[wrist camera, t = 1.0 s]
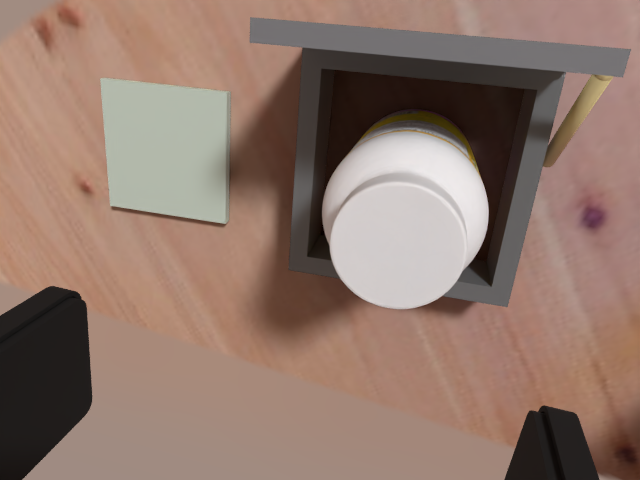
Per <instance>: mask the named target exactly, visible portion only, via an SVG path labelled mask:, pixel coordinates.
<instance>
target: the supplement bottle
mask: <svg viewBox="0 0 640 480" xmlns="http://www.w3.org/2000/svg"><path fill="white" fill-rule="evenodd" d="M488 217H489V208H488V200H487V195H486V191H485V187H484V184H483V182H482V179H481V176H480V173H479V170H478V167H477V164H476V161H475V158H474V155H473V152H472V149H471V147H470V144H469V142H468V140H467V139H466V137H465V135H464V134H463V132H462V131H461V130H460V129H459V128H458V127H457V126H456V125H455V124H454V123H453V122H452V121H450V120H449V119H447V118H446V117H444V116H442V115H440V114H437V113H435V112H432V111H428V110H422V109H407V110H401V111H397V112H394V113H392V114H389V115H387V116H385V117H383V118H382V119H380V120H379V121H377V122H376V123H375V124H374V125H372V126H371V127H370V128H369V129H368V130H367V131H366V133H365V134H364V135H363V136H362V137H361V139H360V140H359V141H358V142H357V144H356V145H355V146H354V147H353V149H352V150H351V151H350V152H349V153H348V154H347V156H346V157H345V158H344V159H343V160H342V161H341V163H340V164H339V165H338V167H337V168H336V170H335V171H334V173H333V174H332V176H331V178H330V180H329V182H328V185H327V187H326V191H325V194H324V199H323V205H322V220H323V227H324V232H325V235H326V238H327V241H328V243H329V246H330V255H331V259H332V262H333V265H334V268H335V270H336V272H337V274H338V275H339V277H340V279H341V280H342V281H343V282H344V284H345V285H346V286H347V287H348V288H349V289H350V290H351V291H352V292H353V293H355V294H356V295H357V296H359V297H360V298H362V299H363V300H365V301H367V302H369V303H372V304H374V305H377V306H381V307H386V308H392V309H410V308H416V307H420V306H423V305H426V304H429V303H431V302H433V301H435V300H437V299H438V298H440V297H441V296H443V295H444V294H445V293H446V292H448V291H449V290H450V289H451V288H452V286H453V285H454V284H455V283H456V281H457V280H458V278H459V277H460V275H461V273H462V271H463V270H464V269H465V268H466V267H467V266H468V265H469V264H470V263H471V261H472V260H473V259H474V257H475V256H476V254H477V253H478V251H479V249H480V247H481V245H482V243H483V241H484V238H485V235H486V231H487V226H488Z"/></svg>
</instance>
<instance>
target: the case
mask: <svg viewBox="0 0 640 480" xmlns="http://www.w3.org/2000/svg"><path fill="white" fill-rule="evenodd" d="M250 43H260V44H271V45H282V46H292V47H303V49H302V65H301V81H300V96H299V112H298V128H297V144H296V160H295V176H294V191H293V207H292V223H291V239H290V255H289V270H292V271H298V272H304V273H310V274H315V275H321V276H327V277H333V278H339V279H340V277H339V275H338V274H337V272H336V270H335V268H334V265H333V262H332V259H331V255H330V246H329V243H328V241H327V238H326V236H323V235H320V233H321V221H322V205H323V198H324V187H325V175H326V163H327V152H328V140H329V129H330V117H331V106H332V94H333V83H334V71H335V70H343V71H353V72H363V73H373V74H383V75H393V76H403V77H413V78H423V79H433V80H443V81H454V82H464V83H474V84H484V85H494V86H504V87H514V88H524V89H525V90H524V95H523V99H522V104H521V108H520V113H519V117H518V122H517V126H516V131H515V135H514V139H513V144H512V148H511V153H510V157H509V162H508V166H507V171H506V175H505V180H504V184H503V189H502V193H501V198H500V202H499V207H498V211H497V216H496V220H495V225H494V229H493V234H492V238H491V243H490V247H489V252H488V256H487V260H486V261H483V260H477V259H473V260H472V261H471V263H470V264H469V265H468V266H467V267H466V268H465V269H464V270H463V271H462V273H461V275H460V277H459V278H458V280H457V281H456V283H455V284H454V285H453V286H452V288H451V289H450V290H449V291H448V292H446V293H445V294H444V295H443V296H445V297H451V298H457V299H463V300H468V301H474V302H480V303H486V304H492V305H498V306H504V307H508V303H509V299H510V295H511V291H512V287H513V283H514V279H515V275H516V271H517V267H518V263H519V259H520V255H521V251H522V247H523V243H524V239H525V235H526V231H527V227H528V223H529V219H530V215H531V211H532V207H533V203H534V199H535V195H536V191H537V187H538V183H539V179H540V175H541V171H542V167H543V166H544V167H551V166H552V165H553V164H554V163H555V161H556V160H557V159H558V157H559V156H560V154H561V153H562V151H563V150H564V148H565V147H566V145H567V144H568V142H569V141H570V140H571V138H572V137H573V135H574V134H575V132H576V131H577V129H578V128H579V126H580V125H581V123H582V122H583V121H584V119H585V118H586V116H587V115H588V113H589V112H590V110H591V109H592V107H593V106H594V104H595V103H596V102H597V100H598V99H599V97H600V96H601V94H602V93H603V91H604V90H605V88H606V87H607V85H608V84H609V83H610V81H611V80H612V78H613V77H614V76H615V77H623V75H624V72H625V68H626V65H627V61H628V58H629V55H630V51H631V49H621V48H609V47H597V46H585V45H573V44H561V43H549V42H537V41H526V40H514V39H502V38H490V37H478V36H466V35H454V34H442V33H430V32H419V31H407V30H395V29H383V28H371V27H359V26H347V25H335V24H323V23H311V22H300V21H288V20H276V19H264V18H252V17H250ZM566 72H572V73H583V74H592V75H591V77H590V79H589V80H588V82H587V84H586V85H585V87H584V88H583V90H582V92H581V93H580V95H579V97H578V98H577V100H576V101H575V103H574V105H573V106H572V108H571V109H570V111H569V113H568V114H567V116H566V118H565V119H564V121H563V122H562V124H561V126H560V127H559V129H558V131H557V132H556V134H555V135H554V137H553V139H552V140H551V142H550V144H549V145H548V143H549V139H550V135H551V131H552V126H553V122H554V118H555V114H556V110H557V106H558V102H559V98H560V94H561V90H562V86H563V82H564V78H565V74H566Z"/></svg>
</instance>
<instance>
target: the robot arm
mask: <svg viewBox="0 0 640 480" xmlns="http://www.w3.org/2000/svg"><path fill="white" fill-rule="evenodd" d="M89 355H90V354H89V337H88V321H87V307H86V303H85V301H83V300H82V299H81V296H80V294H79V293H78V292H76V291H72V290H68V289H63V288H59V287H55V286H50V287H48V288H45V289H44V290H42V291H40V292H39V293H37V294H35V295H34V296H32V297H31V298H29V299H27V300H26V301H24V302H23V303H21V304H19V305H17V306H16V307H14V308H12V309H11V310H9V311H7V312H6V313H4V314H2V315H1V316H0V480H22V479H23V478H24V477H25V476H26V475H27V474H28V473H29V472H30V471H31V470H32V469H33V468H34V467H35V466H36V465H37V464H38V463H39V462H40V461H41V460H42V459H43V458H44V457H45V456H46V455H47V454H48V453H49V452H50V451H51V449H53V448H54V447H55V445H57V444H58V443H59V442H60V441H61V440H62V439H63V438H64V436H66V435H67V433H68V432H69V431H70V430H71V429H72V428H73V427H74V426H75V425H76V424H77V423H78V422H79V421H80V420H81V419H82V418H83V417H84V416H85V415H86V414H87V412H88V411H89V409H90V406H91V403H92V387H91V371H90V356H89ZM505 480H599V477H598V474H597V471H596V468H595V465H594V462H593V459H592V456H591V454H590V451H589V448H588V445H587V442H586V439H585V436H584V433H583V430H582V427H581V424H580V421H579V418H578V416H577V414H575V413H573V412H569V411H565V410H561V409H557V408H553V407H549V406H542V407H541V408H540V409H539V411H538V412H536V411H532V410H531V411H529V413H528V414H527V417H526V420H525V422H524V425H523V428H522V431H521V434H520V437H519V440H518V442H517V445H516V448H515V451H514V454H513V457H512V460H511V463H510V465H509V468H508V471H507V474H506V477H505Z"/></svg>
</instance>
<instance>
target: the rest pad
mask: <svg viewBox="0 0 640 480" xmlns="http://www.w3.org/2000/svg"><path fill="white" fill-rule="evenodd" d="M100 81H101V94H102V107H103V119H104V132H105V145H106V158H107V170H108V183H109V196H110V206H115V207H122V208H128V209H134V210H141V211H147V212H153V213H160V214H166V215H172V216H179V217H185V218H191V219H198V220H204V221H210V222H217V223H223V224H226V223H227V222H228V221H229V179H230V107H231V92H230V91H221V90H212V89H202V88H193V87H184V86H175V85H166V84H157V83H148V82H139V81H130V80H121V79H112V78H100Z"/></svg>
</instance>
